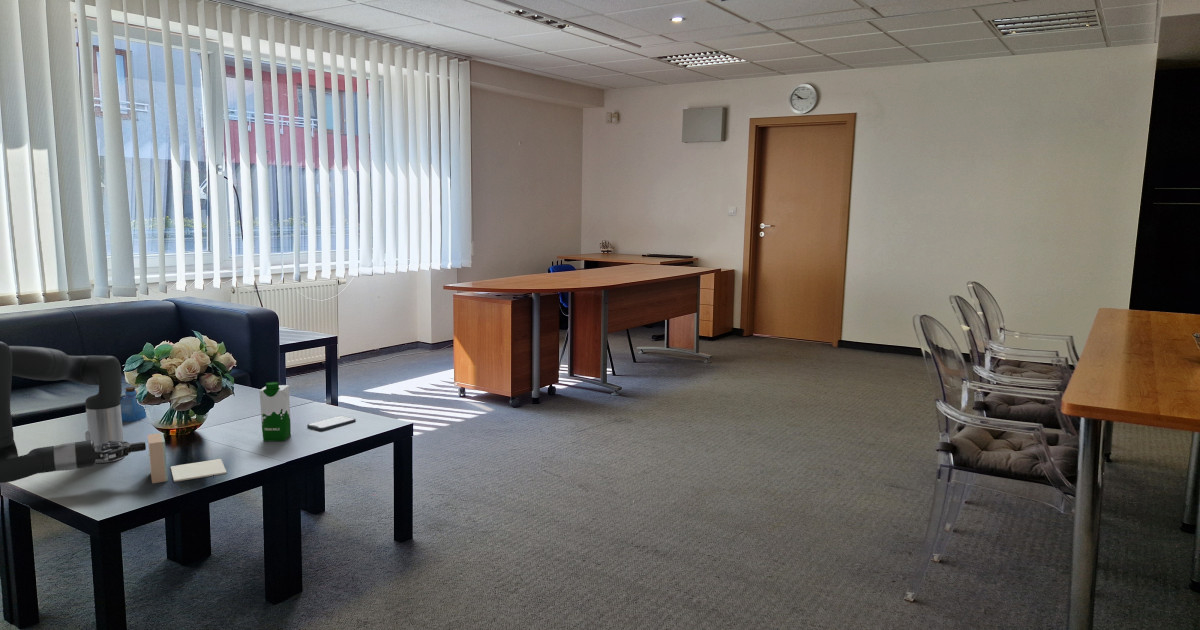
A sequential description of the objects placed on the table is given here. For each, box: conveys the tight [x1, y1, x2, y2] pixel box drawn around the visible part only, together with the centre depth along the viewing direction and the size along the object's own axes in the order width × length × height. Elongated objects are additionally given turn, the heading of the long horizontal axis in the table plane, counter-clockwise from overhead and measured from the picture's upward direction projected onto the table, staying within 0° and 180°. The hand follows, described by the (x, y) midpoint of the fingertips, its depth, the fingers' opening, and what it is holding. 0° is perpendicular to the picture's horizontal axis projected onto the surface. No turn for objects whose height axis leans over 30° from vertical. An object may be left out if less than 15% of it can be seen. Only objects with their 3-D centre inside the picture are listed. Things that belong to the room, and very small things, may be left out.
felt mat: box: [170, 458, 228, 483], centre depth 238 cm, size 14×14×1 cm
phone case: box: [306, 415, 357, 432], centre depth 287 cm, size 9×2×16 cm
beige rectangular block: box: [147, 432, 169, 484], centre depth 231 cm, size 4×10×12 cm, turn 32°
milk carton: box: [259, 381, 292, 442], centre depth 269 cm, size 9×9×20 cm
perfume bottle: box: [120, 386, 147, 423], centre depth 292 cm, size 6×6×12 cm
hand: (145, 445), depth 229 cm, fingers closed
